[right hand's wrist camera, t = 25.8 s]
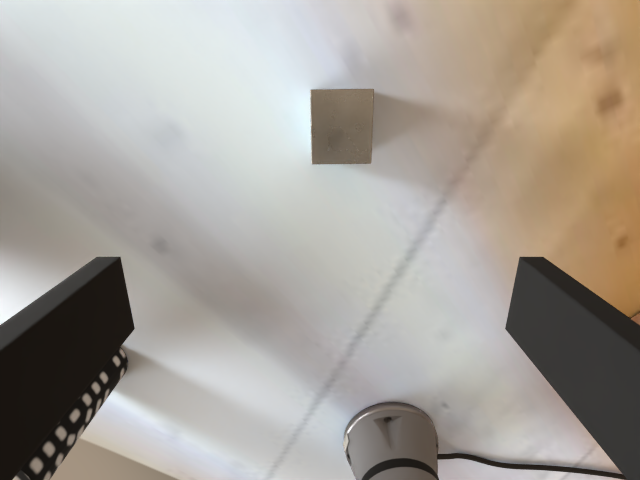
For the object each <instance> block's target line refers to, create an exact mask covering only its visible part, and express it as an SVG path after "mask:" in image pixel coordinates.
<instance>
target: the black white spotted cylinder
mask: <svg viewBox="0 0 640 480" xmlns="http://www.w3.org/2000/svg"><path fill="white" fill-rule="evenodd" d="M127 365H128V364H127V358H126V355H125V353H124V352H123V350H122V349H121V348H120V347H119V349H118V350H117V351H116V352H115V354H114V355H113V356H112V357H111V359H110V360H109V361H108V362H107V364H106V365H105V366H104V367H103V368H102V370H101V371H100V372H99V373H98V375H97V376H96V377H95V378H94V380H93V381H92V382H91V383H90V385H89V386H88V387H87V388H86V389H85V391H84V392H83V393H82V394H81V396H80V397H79V398H78V399H77V401H76V402H75V403H74V404H73V406H72V407H71V408H70V409H69V411H68V412H67V413H66V414H65V415H64V417H63V418H62V419H61V420H60V422H59V423H58V424H57V425H56V427H55V428H54V429H53V430H52V432H51V433H50V434H49V435H48V436H47V438H46V439H45V440H44V441H43V443H42V444H41V445H40V446H39V448H38V449H37V450H36V451H35V453H34V454H33V455H32V456H31V457H30V459H29V460H28V461H27V462H26V464H25V465H24V466H23V467H22V469H21V470H20V471H19V472H18V474H17V475H16V476H15V477H14V479H13V480H50V478H51V477H52V476H53V474H54V473H55V471H56V470H57V468H58V467H59V466H60V464H61V463H62V461H63V460H64V459H65V457H66V456H67V454H68V453H69V451H70V450H71V449H72V447H73V446H74V444H75V443H76V441H77V440H78V439H79V437H80V436H81V434H82V433H83V432H84V430H85V429H86V427H87V426H88V424H89V423H90V422H91V420H92V419H93V417H94V416H95V415H96V413H97V412H98V410H99V409H100V407H101V406H102V405H103V403H104V402H105V400H106V399H107V398H108V396H109V395H110V393H111V392H112V390H113V389H114V388H115V386H116V385H117V383H118V382H119V380H120V379H121V378H122V376H123V375H124V373H125V372H126V370H127Z"/></svg>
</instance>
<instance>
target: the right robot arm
mask: <svg viewBox="0 0 640 480" xmlns="http://www.w3.org/2000/svg"><path fill="white" fill-rule="evenodd" d="M134 329H135V328H134V323H133V318H132V313H131V308H130V303H129V298H128V293H127V288H126V283H125V278H124V273H123V268H122V263H121V258H120V257H96V258H95V259H93V260H92V261H91V262H89V263H88V264H86V265H85V266H83V267H82V268H81V269H79V270H78V271H76V272H75V273H74V274H72V275H71V276H69V277H68V278H66V279H65V280H64V281H62V282H61V283H59V284H58V285H57V286H55V287H54V288H52V289H51V290H49V291H48V292H47V293H45V294H44V295H42V296H41V297H40V298H38V299H37V300H35V301H34V302H32V303H31V304H30V305H28V306H27V307H25V308H24V309H23V310H21V311H20V312H18V313H17V314H15V315H14V316H13V317H11V318H10V319H8V320H7V321H6V322H4V323H3V324H1V325H0V480H13V479H14V477H15V476H16V475H17V474H18V472H19V471H20V470H21V469H22V467H23V466H24V465H25V464H26V462H27V461H28V460H29V459H30V457H31V456H32V455H33V454H34V453H35V451H36V450H37V449H38V448H39V446H40V445H41V444H42V443H43V441H44V440H45V439H46V438H47V436H48V435H49V434H50V433H51V432H52V430H53V429H54V428H55V427H56V425H57V424H58V423H59V422H60V420H61V419H62V418H63V417H64V415H65V414H66V413H67V412H68V411H69V409H70V408H71V407H72V406H73V404H74V403H75V402H76V401H77V399H78V398H79V397H80V396H81V394H82V393H83V392H84V391H85V389H86V388H87V387H88V386H89V385H90V383H91V382H92V381H93V380H94V378H95V377H96V376H97V375H98V373H99V372H100V371H101V370H102V368H103V367H104V366H105V365H106V364H107V362H108V361H109V360H110V359H111V357H112V356H113V355H114V354H115V352H116V351H117V350H118V349H119V347H120V346H121V345H122V344H123V342H124V341H125V340H126V339H127V338H128V336H129V335H130V334H131V333H132V331H133V330H134ZM505 329H506V330H507V331H508V333H509V334H510V335H511V336H512V338H513V339H514V340H515V341H516V342H517V344H518V345H519V346H520V347H521V349H522V350H523V351H524V352H525V354H526V355H527V356H528V357H529V359H530V360H531V361H532V362H533V364H534V365H535V366H536V367H537V368H538V370H539V371H540V372H541V373H542V375H543V376H544V377H545V378H546V380H547V381H548V382H549V383H550V385H551V386H552V387H553V388H554V389H555V391H556V392H557V393H558V394H559V396H560V397H561V398H562V399H563V401H564V402H565V403H566V404H567V406H568V407H569V408H570V409H571V411H572V412H573V413H574V414H575V415H576V417H577V418H578V419H579V420H580V422H581V423H582V424H583V425H584V427H585V428H586V429H587V430H588V432H589V433H590V434H591V435H592V436H593V438H594V439H595V440H596V441H597V443H598V444H599V445H600V446H601V448H602V449H603V450H604V451H605V453H606V454H607V455H608V456H609V457H610V459H611V460H612V461H613V462H614V464H615V465H616V466H617V467H618V469H619V470H620V471H621V472H622V474H617V473H611V472H604V471H597V470H589V469H581V468H571V467H560V466H547V465H529V464H509V463H501V462H495V461H491V460H487V459H483V458H480V457H476V456H472V455H468V454H461V453H452V454H438V437H437V433H436V430H435V427H434V425H433V423H432V421H431V419H430V418H429V417H428V416H427V415H426V414H425V413H424V412H423V411H421V410H420V409H418V408H416V407H414V406H411V405H408V404H404V403H395V402H389V403H381V404H377V405H373V406H371V407H368V408H366V409H364V410H362V411H361V412H359V413H358V414H357V415H356V416H354V417H353V418H352V420H351V421H350V422H349V424H348V425H347V427H346V430H345V433H344V442H343V447H344V451H345V454H346V457H347V460H348V462H349V464H350V466H351V468H352V471H353V473H354V476H355V478H356V480H439V478H438V475H437V473H438V463H437V459H454V458H462V459H468V460H473V461H477V462H480V463H484V464H487V465H491V466H496V467H501V468H510V469H528V470H548V471H561V472H572V473H582V474H590V475H598V476H606V477H612V478H618V479H624V480H640V325H639V324H637V323H636V322H634V321H633V320H632V319H630V318H629V317H627V316H626V315H625V314H623V313H622V312H620V311H619V310H617V309H616V308H615V307H613V306H612V305H610V304H609V303H608V302H606V301H605V300H603V299H602V298H600V297H599V296H598V295H596V294H595V293H593V292H592V291H591V290H589V289H588V288H586V287H585V286H583V285H582V284H581V283H579V282H578V281H576V280H575V279H574V278H572V277H571V276H569V275H568V274H566V273H565V272H564V271H562V270H561V269H559V268H558V267H557V266H555V265H554V264H552V263H551V262H549V261H548V260H547V259H545V258H544V257H520V258H519V263H518V268H517V273H516V278H515V283H514V288H513V293H512V298H511V303H510V308H509V313H508V318H507V323H506V328H505Z"/></svg>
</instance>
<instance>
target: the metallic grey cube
mask: <svg viewBox="0 0 640 480" xmlns="http://www.w3.org/2000/svg"><path fill="white" fill-rule="evenodd" d="M373 99H374V89H325V90H310V107H311V160H312V164H371V153H372V126H373Z"/></svg>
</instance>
